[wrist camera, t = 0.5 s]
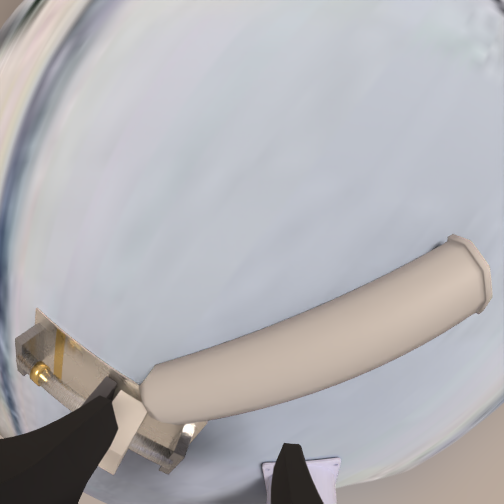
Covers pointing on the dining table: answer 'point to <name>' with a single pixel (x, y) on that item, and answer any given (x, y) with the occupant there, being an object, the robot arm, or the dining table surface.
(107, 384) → the dark gray slab
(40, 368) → the rod rig
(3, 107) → the dining table surface
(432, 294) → the tube
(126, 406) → the sleeve
